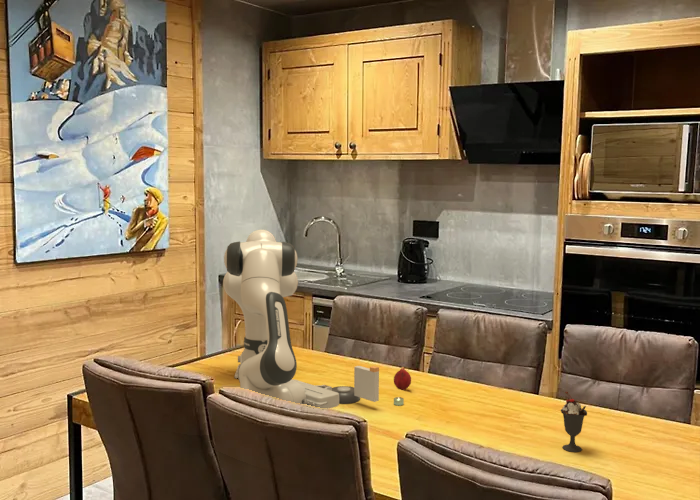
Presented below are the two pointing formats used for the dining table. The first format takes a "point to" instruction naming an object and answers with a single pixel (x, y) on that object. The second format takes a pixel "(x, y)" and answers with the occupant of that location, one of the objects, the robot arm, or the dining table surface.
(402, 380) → the onion
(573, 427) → the sundae
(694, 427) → the dining table surface
